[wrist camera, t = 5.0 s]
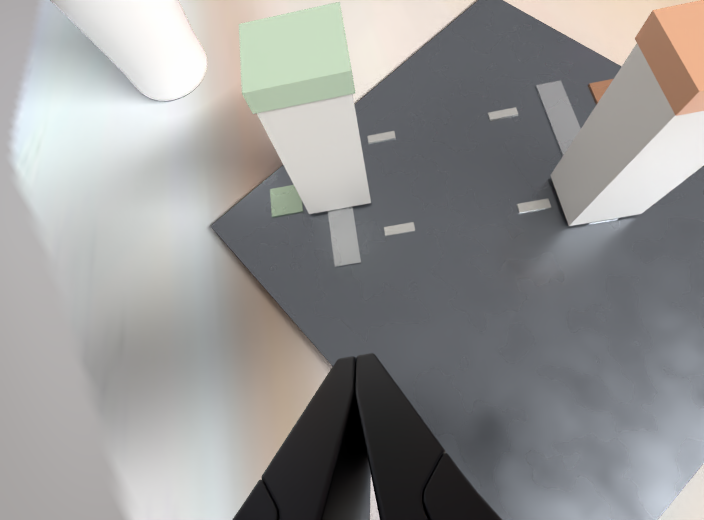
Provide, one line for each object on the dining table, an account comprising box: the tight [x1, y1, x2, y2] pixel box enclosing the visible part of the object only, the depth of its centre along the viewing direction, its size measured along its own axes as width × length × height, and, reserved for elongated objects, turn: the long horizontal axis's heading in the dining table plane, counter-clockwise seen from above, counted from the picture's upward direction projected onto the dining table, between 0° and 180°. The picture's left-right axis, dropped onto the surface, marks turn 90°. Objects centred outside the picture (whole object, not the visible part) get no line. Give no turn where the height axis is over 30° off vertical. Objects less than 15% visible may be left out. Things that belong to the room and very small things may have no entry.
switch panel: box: [211, 0, 704, 520], centre depth 20 cm, size 24×24×1 cm
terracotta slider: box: [550, 0, 704, 226], centre depth 16 cm, size 3×4×9 cm
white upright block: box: [239, 2, 371, 214], centre depth 18 cm, size 3×4×9 cm
